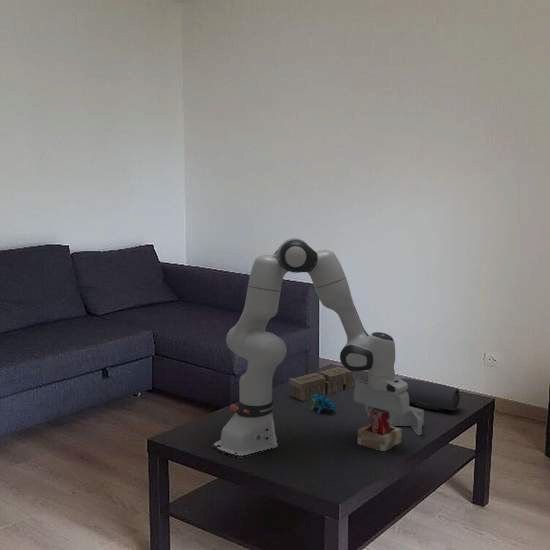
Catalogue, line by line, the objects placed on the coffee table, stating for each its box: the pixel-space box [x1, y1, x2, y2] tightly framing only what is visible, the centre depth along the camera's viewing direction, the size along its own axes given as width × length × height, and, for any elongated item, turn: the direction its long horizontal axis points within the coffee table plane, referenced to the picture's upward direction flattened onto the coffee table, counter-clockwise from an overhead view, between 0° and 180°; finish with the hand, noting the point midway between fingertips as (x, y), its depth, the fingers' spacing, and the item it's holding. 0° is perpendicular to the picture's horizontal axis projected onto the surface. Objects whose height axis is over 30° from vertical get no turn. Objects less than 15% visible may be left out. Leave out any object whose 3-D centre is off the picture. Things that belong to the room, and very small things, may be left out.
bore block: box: [357, 423, 403, 452], centre depth 246 cm, size 11×11×5 cm
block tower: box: [288, 366, 355, 402], centre depth 297 cm, size 8×8×29 cm
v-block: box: [388, 405, 425, 436], centre depth 259 cm, size 10×15×6 cm, turn 48°
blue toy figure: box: [310, 394, 337, 415], centre depth 275 cm, size 11×6×10 cm
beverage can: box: [370, 407, 390, 435], centre depth 245 cm, size 6×6×12 cm
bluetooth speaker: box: [400, 377, 461, 411], centre depth 280 cm, size 23×9×10 cm, turn 56°
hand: (380, 420), depth 245 cm, fingers closed on beverage can, 6 cm apart
